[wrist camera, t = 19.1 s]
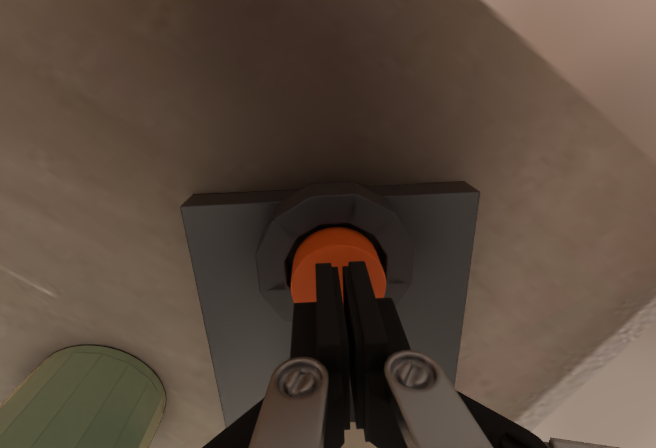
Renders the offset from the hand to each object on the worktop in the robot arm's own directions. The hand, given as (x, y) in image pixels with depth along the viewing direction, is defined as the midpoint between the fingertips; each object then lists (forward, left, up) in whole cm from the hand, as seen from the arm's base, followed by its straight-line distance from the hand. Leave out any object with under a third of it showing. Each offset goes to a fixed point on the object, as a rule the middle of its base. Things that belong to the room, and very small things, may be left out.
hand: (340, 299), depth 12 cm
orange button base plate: (+6, +4, -6) cm, 9 cm away
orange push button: (0, 0, -3) cm, 3 cm away
